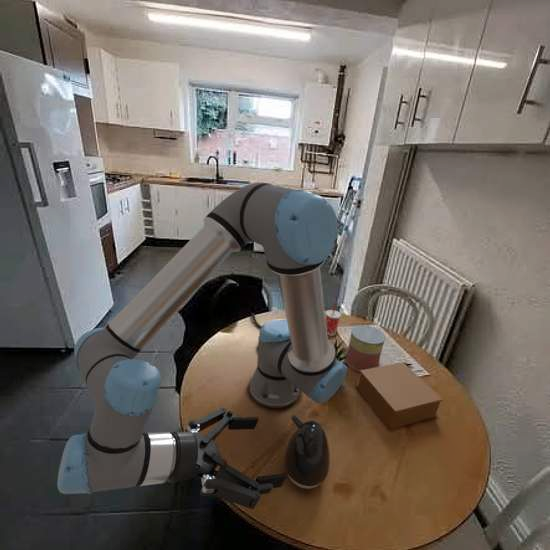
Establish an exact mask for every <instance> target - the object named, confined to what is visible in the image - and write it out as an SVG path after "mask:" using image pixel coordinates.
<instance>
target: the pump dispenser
mask: <svg viewBox="0 0 550 550" xmlns="http://www.w3.org/2000/svg"><path fill="white" fill-rule="evenodd" d="M290 418H291V420H292V422H293V424H294V425H295V426H296V430H294V432H293V433H292V435H291V436H290V438H289V441H288V443H287V446H286V448H285V453H284V456H283V466H284V468H285V469H284V470H285V471H286V472H285V473H287V474H286V475H287V477H288V478H289V479H290V481H291V482H292V483H293V484H294V485H296V486H297V487H299V488H302V489H307V490H309V489H314V488H316V487H318V486H319V485H320V484H322V483H323V482H324V481H325V480H326V479H327V477H328V475H329V472H330V466H331V465H330V464H331V454H330V453H331V452H330V445H329V441H328V437H327V435H326V432H325V430H324V428H323V427H322V425H321V424H319V423H318V422H317V421H314V420H307V421H305V422H302V421H301V420H300V418H299V417H297V416H296V415H295V414H292V416H291V417H290Z"/></svg>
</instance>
